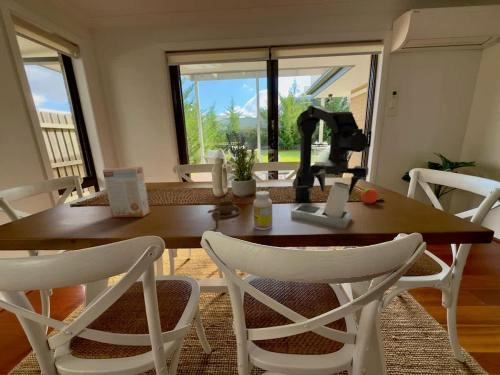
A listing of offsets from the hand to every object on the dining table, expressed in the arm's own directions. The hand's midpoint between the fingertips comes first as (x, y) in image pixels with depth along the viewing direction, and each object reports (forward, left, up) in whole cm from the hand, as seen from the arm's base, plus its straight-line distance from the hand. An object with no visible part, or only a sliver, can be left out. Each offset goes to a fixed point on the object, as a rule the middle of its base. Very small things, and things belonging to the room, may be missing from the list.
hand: (336, 193), depth 79 cm
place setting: (-41, -18, -12) cm, 46 cm away
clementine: (+7, +28, -11) cm, 31 cm away
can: (-1, +1, -9) cm, 9 cm away
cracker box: (-76, -37, -11) cm, 85 cm away
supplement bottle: (-20, -18, -11) cm, 29 cm away
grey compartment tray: (-5, 0, -11) cm, 12 cm away
